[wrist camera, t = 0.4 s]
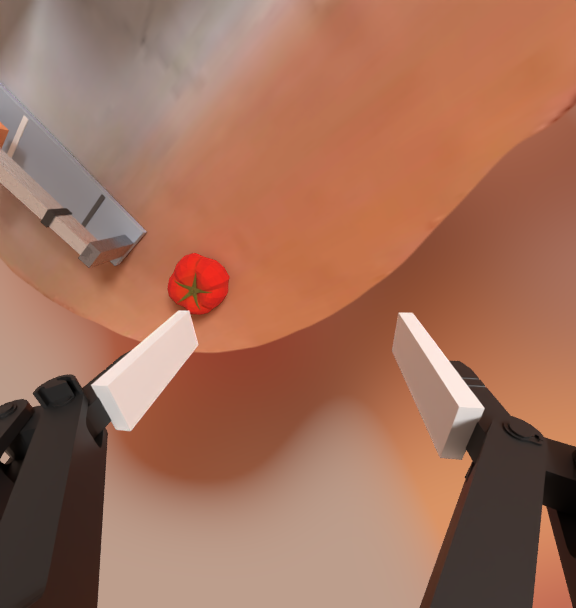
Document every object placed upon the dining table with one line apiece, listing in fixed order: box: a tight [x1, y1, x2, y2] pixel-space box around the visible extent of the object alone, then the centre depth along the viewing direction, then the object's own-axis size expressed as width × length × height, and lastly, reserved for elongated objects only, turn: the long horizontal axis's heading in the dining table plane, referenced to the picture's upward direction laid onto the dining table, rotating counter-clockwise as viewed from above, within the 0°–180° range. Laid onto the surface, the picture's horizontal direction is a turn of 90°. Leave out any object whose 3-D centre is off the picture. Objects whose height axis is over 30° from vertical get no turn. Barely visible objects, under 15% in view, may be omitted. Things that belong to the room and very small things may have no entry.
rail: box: [0, 148, 134, 268], centre depth 36 cm, size 28×4×7 cm, turn 39°
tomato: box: [168, 253, 229, 315], centre depth 42 cm, size 10×11×7 cm
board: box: [0, 82, 146, 266], centre depth 40 cm, size 28×10×1 cm, turn 39°
